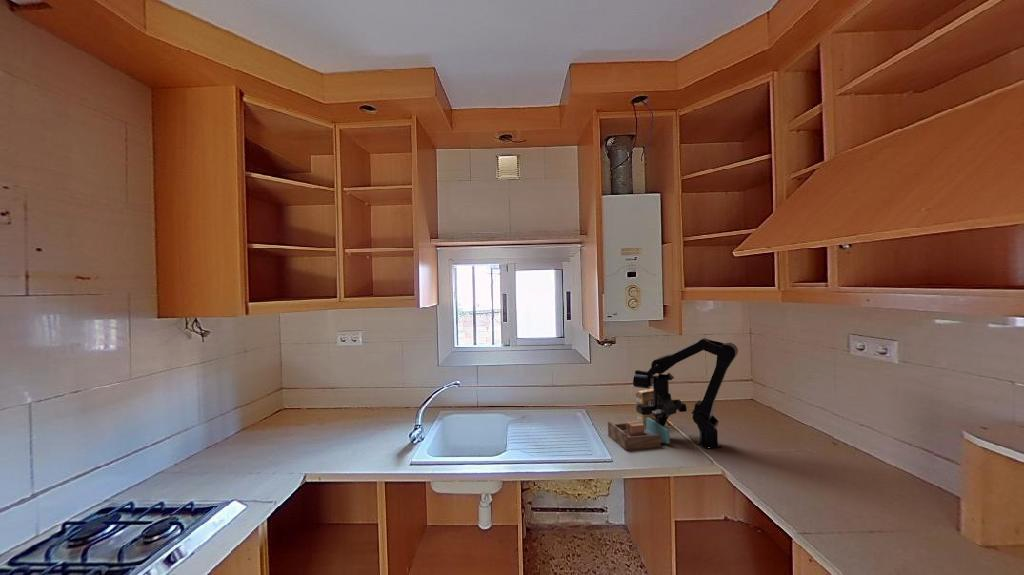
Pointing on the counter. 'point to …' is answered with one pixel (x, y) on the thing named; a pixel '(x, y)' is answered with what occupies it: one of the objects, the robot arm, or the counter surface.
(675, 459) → the counter surface
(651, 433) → the sliding tray
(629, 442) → the caddy frame
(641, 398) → the candy box
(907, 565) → the counter surface
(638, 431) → the terracotta block
